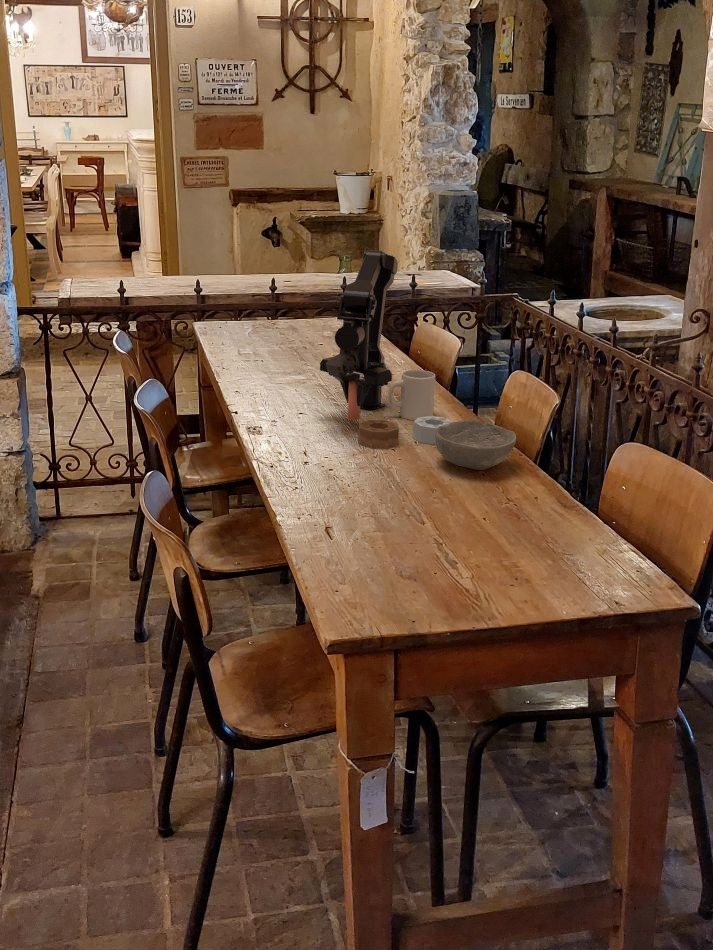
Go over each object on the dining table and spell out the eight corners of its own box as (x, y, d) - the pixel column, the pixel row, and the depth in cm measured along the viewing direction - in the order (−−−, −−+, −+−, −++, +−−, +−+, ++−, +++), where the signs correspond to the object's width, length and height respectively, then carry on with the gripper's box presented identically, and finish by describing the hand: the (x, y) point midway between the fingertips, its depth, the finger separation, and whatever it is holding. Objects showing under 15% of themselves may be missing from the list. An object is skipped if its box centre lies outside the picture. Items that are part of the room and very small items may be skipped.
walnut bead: (375, 433, 247) (376, 417, 245) (405, 442, 241) (406, 426, 240) (351, 441, 240) (351, 425, 239) (380, 450, 235) (381, 434, 233)
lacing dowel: (353, 415, 254) (354, 380, 251) (362, 418, 252) (363, 382, 249) (344, 418, 252) (346, 382, 249) (354, 420, 250) (355, 384, 247)
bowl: (460, 484, 216) (463, 448, 214) (417, 458, 231) (420, 424, 228) (530, 473, 224) (533, 438, 222) (484, 449, 239) (487, 416, 236)
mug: (425, 410, 267) (428, 369, 263) (438, 419, 259) (441, 377, 256) (382, 412, 263) (384, 371, 260) (393, 422, 256) (395, 379, 252)
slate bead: (419, 430, 250) (420, 414, 249) (456, 435, 248) (457, 419, 246) (409, 441, 242) (410, 424, 241) (446, 446, 240) (448, 429, 238)
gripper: (304, 339, 246) (303, 402, 251) (363, 353, 234) (361, 419, 240) (336, 333, 254) (334, 394, 259) (394, 346, 242) (391, 410, 248)
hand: (354, 404), depth 251 cm, fingers closed on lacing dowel, 3 cm apart
